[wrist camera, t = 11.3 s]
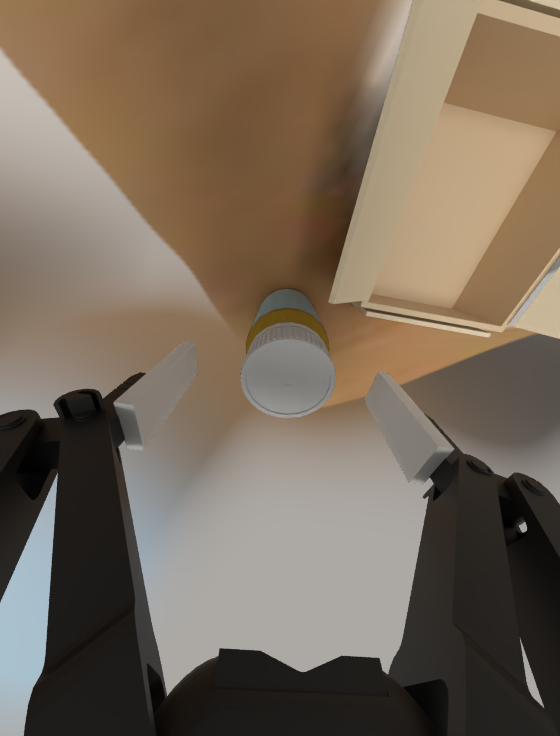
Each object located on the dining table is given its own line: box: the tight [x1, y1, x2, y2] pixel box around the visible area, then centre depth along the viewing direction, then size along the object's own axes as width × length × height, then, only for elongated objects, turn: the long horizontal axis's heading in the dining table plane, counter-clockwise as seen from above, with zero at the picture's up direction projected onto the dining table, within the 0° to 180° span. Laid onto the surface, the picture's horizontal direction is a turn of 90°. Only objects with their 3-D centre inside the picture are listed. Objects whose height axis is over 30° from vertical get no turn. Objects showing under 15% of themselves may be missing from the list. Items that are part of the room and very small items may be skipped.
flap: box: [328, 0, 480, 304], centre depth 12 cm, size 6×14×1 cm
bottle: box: [241, 289, 336, 418], centre depth 20 cm, size 7×7×15 cm
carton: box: [350, 0, 560, 337], centre depth 18 cm, size 17×14×7 cm
